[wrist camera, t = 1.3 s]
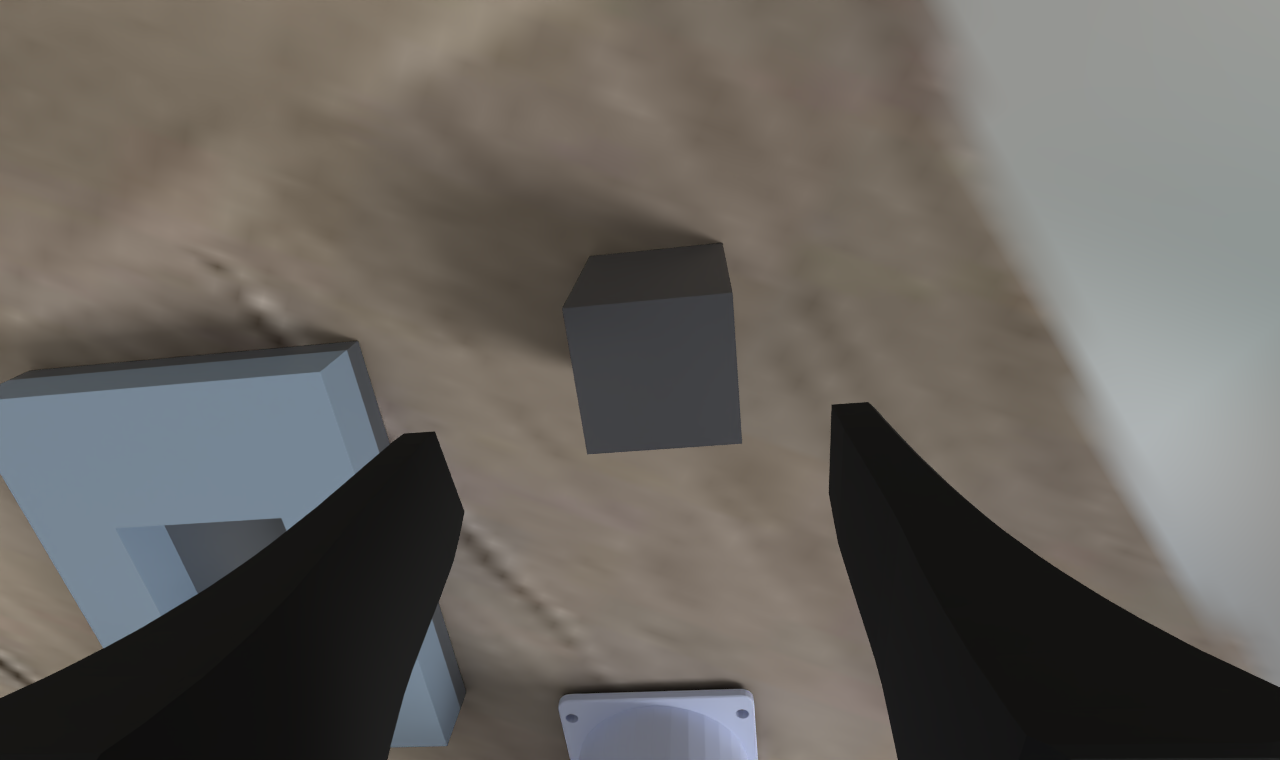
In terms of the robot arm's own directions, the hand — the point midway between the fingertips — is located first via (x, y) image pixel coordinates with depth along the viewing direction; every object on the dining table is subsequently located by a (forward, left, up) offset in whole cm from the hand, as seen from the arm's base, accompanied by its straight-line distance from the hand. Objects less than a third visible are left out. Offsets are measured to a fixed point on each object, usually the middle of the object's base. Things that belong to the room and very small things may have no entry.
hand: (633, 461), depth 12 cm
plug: (0, 0, -10) cm, 9 cm away
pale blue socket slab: (-8, +16, -9) cm, 20 cm away
